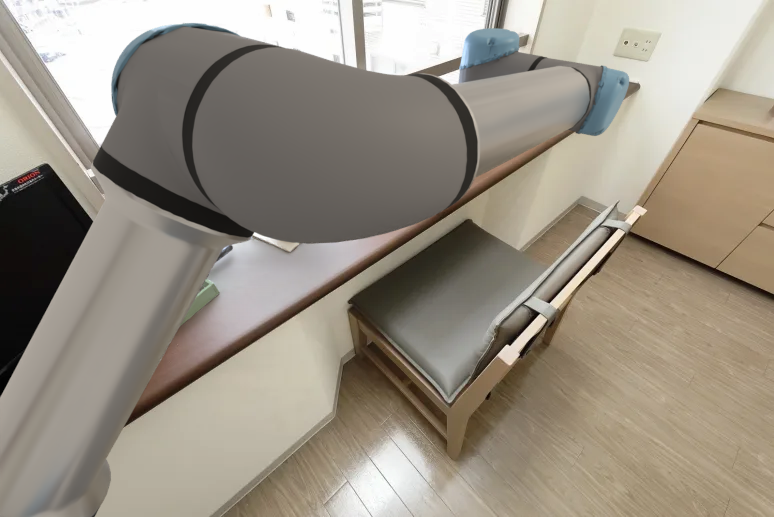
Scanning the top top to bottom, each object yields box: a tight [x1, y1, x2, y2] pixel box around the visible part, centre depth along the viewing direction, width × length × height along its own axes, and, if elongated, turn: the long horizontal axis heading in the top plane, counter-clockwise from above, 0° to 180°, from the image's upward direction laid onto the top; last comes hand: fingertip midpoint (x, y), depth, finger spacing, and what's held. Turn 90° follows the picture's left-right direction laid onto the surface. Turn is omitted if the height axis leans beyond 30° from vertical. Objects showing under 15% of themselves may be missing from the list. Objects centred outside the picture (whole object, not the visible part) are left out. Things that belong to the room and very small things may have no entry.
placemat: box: [252, 232, 301, 253], centre depth 80 cm, size 12×12×1 cm
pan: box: [180, 245, 234, 327], centre depth 67 cm, size 23×13×3 cm, turn 149°
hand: (292, 145), depth 58 cm, fingers open, 13 cm apart
